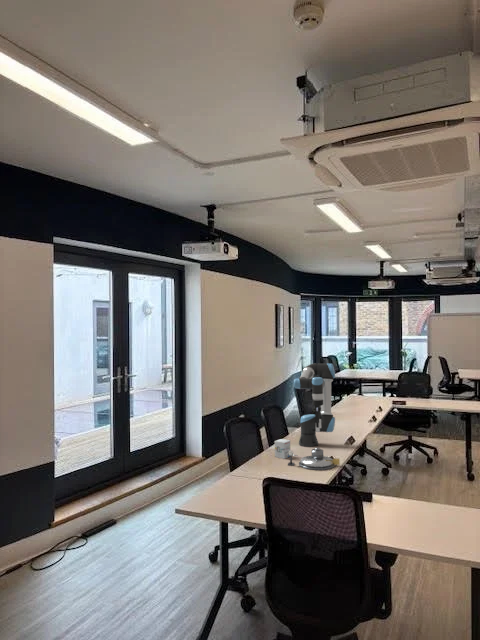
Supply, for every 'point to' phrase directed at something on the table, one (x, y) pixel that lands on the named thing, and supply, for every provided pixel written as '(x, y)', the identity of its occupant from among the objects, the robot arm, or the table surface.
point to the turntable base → (316, 468)
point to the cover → (317, 453)
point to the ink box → (282, 448)
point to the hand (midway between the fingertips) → (318, 430)
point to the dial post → (291, 458)
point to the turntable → (319, 462)
